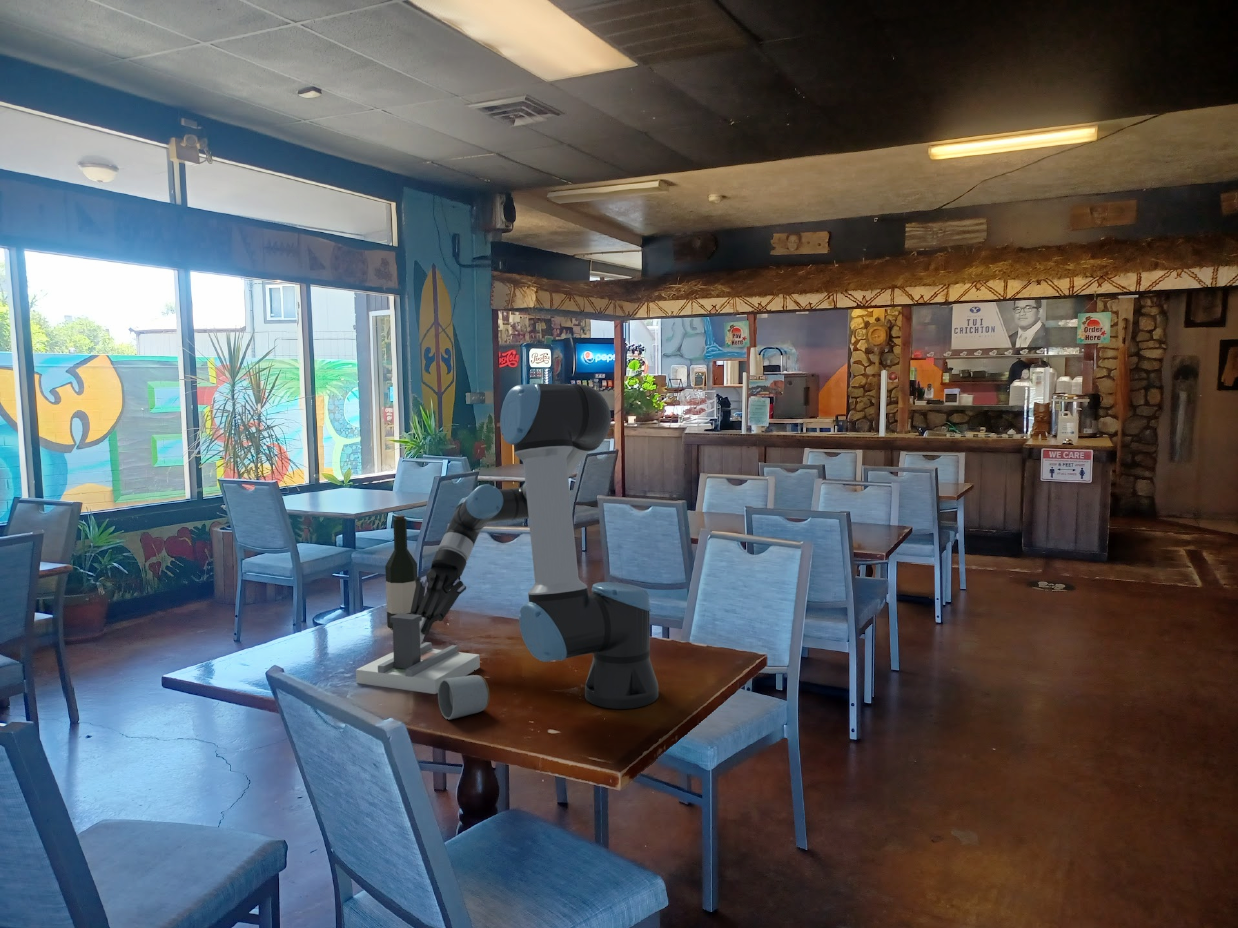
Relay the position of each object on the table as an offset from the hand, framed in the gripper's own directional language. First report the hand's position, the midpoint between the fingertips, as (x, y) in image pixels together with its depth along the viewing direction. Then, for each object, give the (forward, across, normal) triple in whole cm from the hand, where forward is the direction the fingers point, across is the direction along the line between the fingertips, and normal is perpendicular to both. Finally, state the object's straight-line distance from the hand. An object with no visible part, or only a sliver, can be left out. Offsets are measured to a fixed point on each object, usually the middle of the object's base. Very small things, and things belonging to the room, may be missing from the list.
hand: (413, 646), depth 182 cm
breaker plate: (+4, 0, -6) cm, 7 cm away
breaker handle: (+5, 0, -1) cm, 5 cm away
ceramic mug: (+15, -21, +5) cm, 26 cm away
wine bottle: (-18, +28, -30) cm, 45 cm away
